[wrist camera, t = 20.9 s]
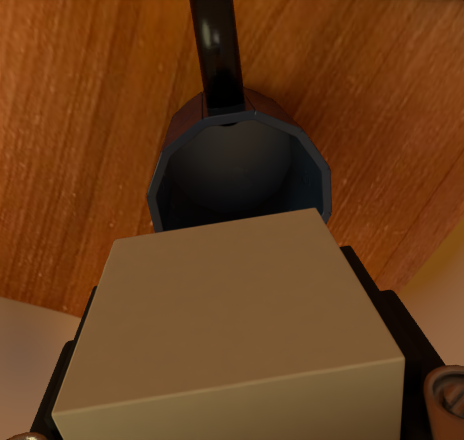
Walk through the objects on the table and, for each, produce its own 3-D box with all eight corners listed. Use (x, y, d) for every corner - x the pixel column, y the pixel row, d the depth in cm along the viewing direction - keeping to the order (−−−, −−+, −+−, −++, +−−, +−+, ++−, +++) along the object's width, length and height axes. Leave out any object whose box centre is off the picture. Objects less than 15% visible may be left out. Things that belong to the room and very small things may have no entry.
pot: (169, 293, 25) (82, -64, 17) (177, 222, 34) (123, -34, 26) (334, 268, 25) (320, -100, 17) (299, 204, 34) (279, -57, 26)
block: (159, 383, 13) (137, 589, 8) (114, 238, 10) (49, 415, 6) (324, 356, 13) (394, 548, 8) (315, 206, 10) (406, 358, 6)
